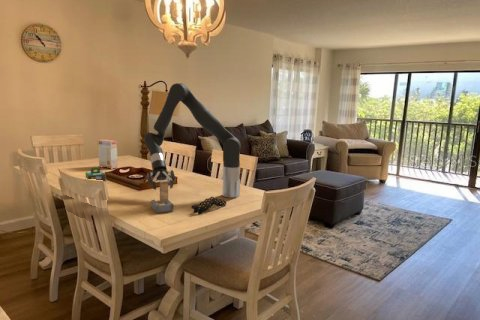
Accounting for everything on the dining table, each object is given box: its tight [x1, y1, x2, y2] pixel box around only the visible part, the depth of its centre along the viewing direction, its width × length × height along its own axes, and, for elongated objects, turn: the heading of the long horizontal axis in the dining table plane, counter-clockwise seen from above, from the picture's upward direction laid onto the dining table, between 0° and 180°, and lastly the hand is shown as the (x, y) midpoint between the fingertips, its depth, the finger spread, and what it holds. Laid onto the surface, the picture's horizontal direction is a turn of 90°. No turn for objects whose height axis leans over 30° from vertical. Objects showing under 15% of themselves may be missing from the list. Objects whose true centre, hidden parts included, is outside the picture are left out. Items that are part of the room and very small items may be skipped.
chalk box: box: [85, 166, 107, 182], centre depth 196 cm, size 9×9×15 cm
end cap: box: [150, 198, 174, 214], centre depth 173 cm, size 11×8×4 cm
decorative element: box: [191, 196, 227, 215], centre depth 176 cm, size 22×5×6 cm, turn 141°
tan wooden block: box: [159, 179, 169, 204], centre depth 185 cm, size 4×4×11 cm
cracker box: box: [98, 138, 118, 169], centre depth 264 cm, size 14×6×21 cm, turn 58°
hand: (163, 188), depth 186 cm, fingers open, 8 cm apart
